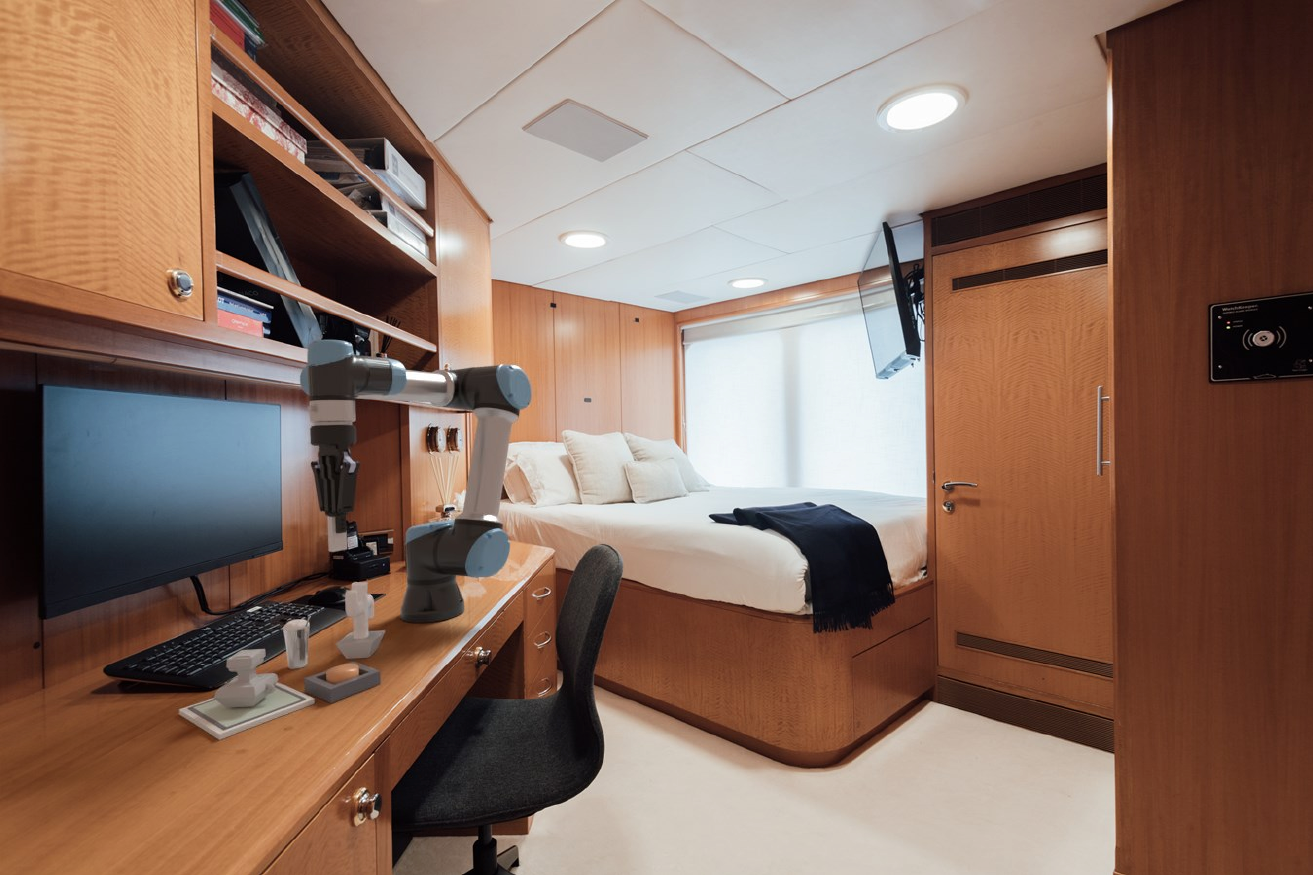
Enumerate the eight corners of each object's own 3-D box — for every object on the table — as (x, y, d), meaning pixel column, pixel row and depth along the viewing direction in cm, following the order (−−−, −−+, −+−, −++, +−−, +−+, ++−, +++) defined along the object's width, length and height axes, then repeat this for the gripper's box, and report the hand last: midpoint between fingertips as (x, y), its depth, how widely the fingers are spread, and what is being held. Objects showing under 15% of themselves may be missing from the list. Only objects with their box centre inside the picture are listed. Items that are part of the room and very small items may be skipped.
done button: (349, 677, 112) (348, 661, 112) (364, 683, 109) (364, 667, 109) (321, 687, 108) (320, 671, 108) (336, 694, 105) (335, 677, 105)
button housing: (353, 673, 115) (353, 661, 115) (380, 683, 110) (380, 670, 110) (304, 691, 107) (304, 678, 107) (331, 703, 102) (330, 689, 102)
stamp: (206, 713, 98) (204, 662, 98) (232, 695, 104) (231, 647, 104) (263, 710, 98) (261, 659, 98) (286, 692, 105) (284, 645, 105)
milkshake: (302, 671, 117) (300, 620, 117) (278, 669, 118) (277, 619, 118) (319, 662, 121) (318, 613, 121) (297, 660, 122) (295, 612, 122)
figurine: (388, 645, 130) (386, 576, 130) (370, 662, 121) (367, 587, 120) (353, 646, 129) (351, 577, 129) (333, 664, 120) (330, 589, 120)
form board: (270, 683, 111) (270, 678, 111) (314, 703, 103) (314, 698, 103) (179, 714, 100) (178, 708, 100) (219, 739, 91) (219, 733, 91)
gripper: (294, 425, 112) (299, 550, 113) (331, 423, 105) (336, 557, 105) (334, 424, 119) (339, 543, 119) (372, 423, 111) (376, 549, 112)
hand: (338, 550), depth 112 cm, fingers closed
